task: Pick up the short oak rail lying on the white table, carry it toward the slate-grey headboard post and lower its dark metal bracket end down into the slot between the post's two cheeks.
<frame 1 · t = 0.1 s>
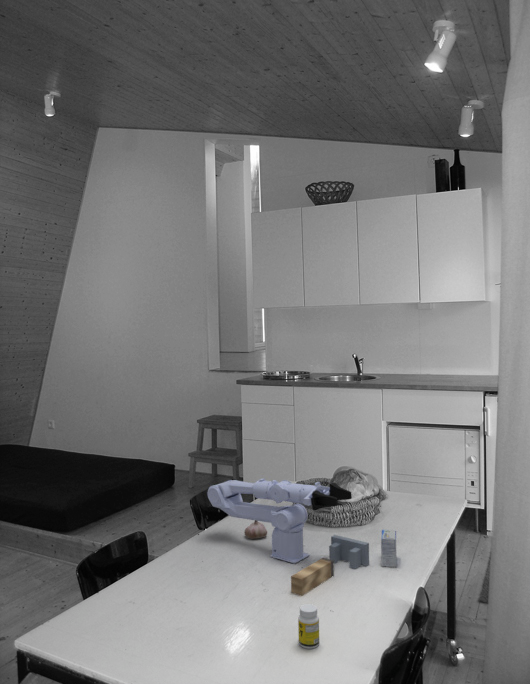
hand: (344, 498, 181), 22 cm above the table, tool horizontal, fingers open, 7 cm apart
supplement bottle: (309, 644, 143), on the table
medicine box: (388, 562, 189), on the table
rail: (313, 583, 174), on the table
headboard: (348, 561, 189), on the table
garlic bulb: (255, 538, 212), on the table
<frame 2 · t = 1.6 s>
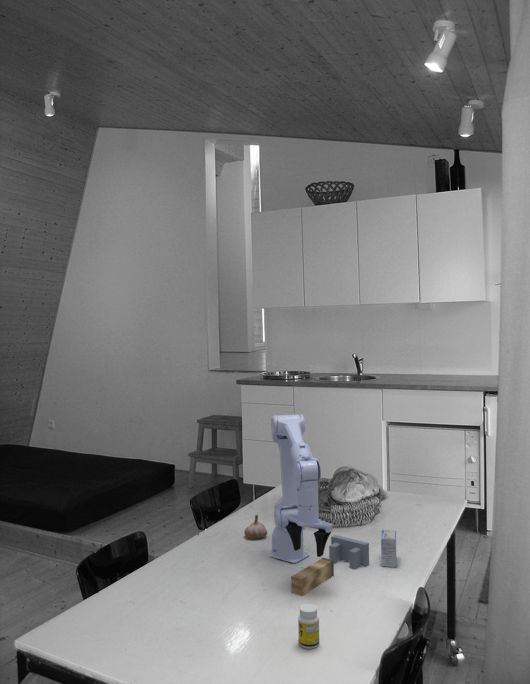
hand: (308, 552, 172), 9 cm above the table, tool pointing down, fingers open, 7 cm apart
nothing on the table moved.
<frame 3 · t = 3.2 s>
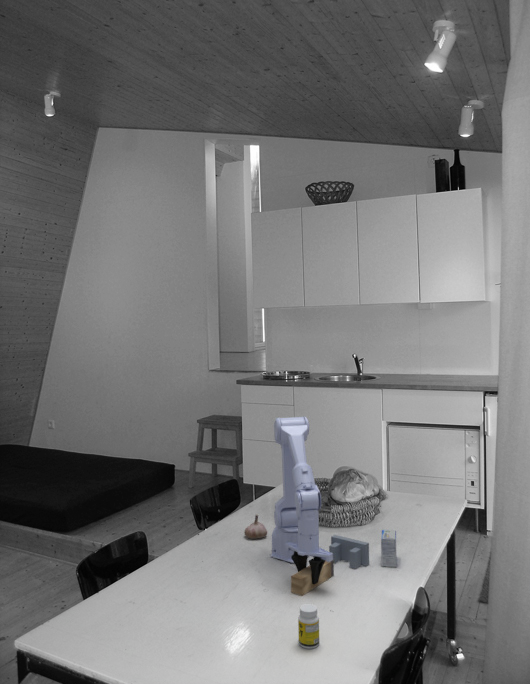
hand: (309, 581, 173), 1 cm above the table, tool pointing down, fingers closed on rail, 3 cm apart
rail: (313, 583, 174), on the table, touching gripper
everything else where it was.
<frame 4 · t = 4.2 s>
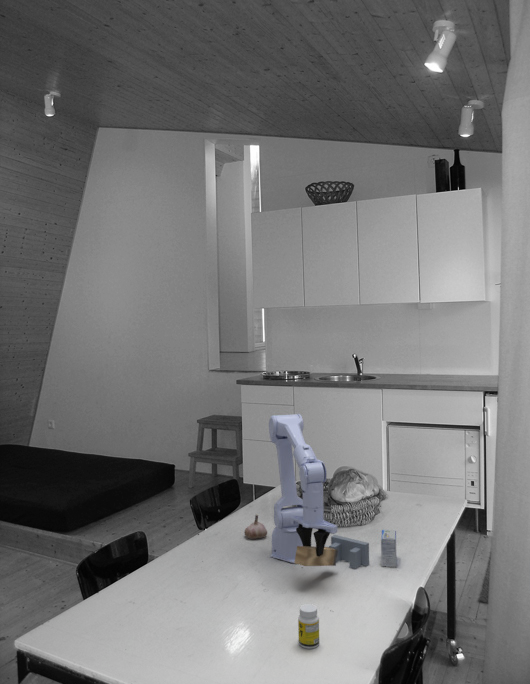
hand: (313, 553, 175), 8 cm above the table, tool pointing down, fingers closed on rail, 3 cm apart
rail: (315, 564, 175), point 5 cm above the table, tilted 18°, touching gripper
everything else where it was.
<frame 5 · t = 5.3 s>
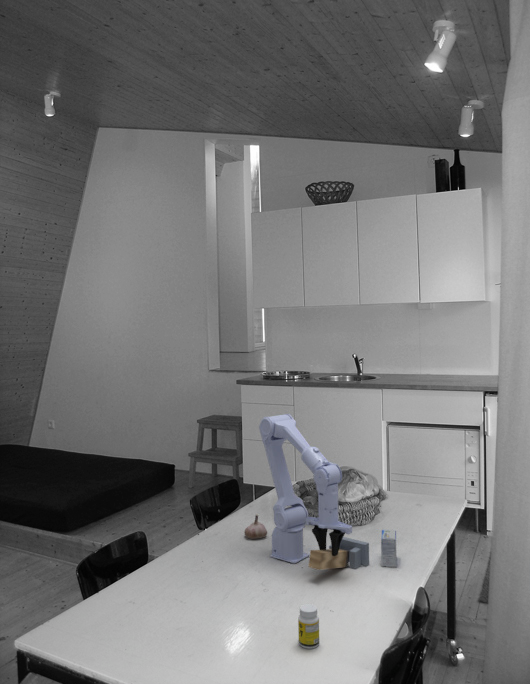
hand: (329, 553, 181), 6 cm above the table, tool pointing down, fingers closed on rail, 3 cm apart
rail: (328, 566, 181), point 2 cm above the table, tilted 15°, touching gripper
everything else where it was.
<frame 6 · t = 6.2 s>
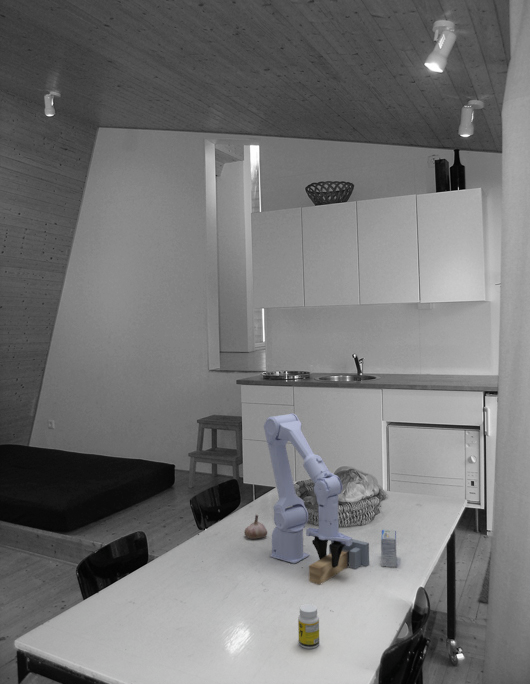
hand: (329, 564, 181), 3 cm above the table, tool pointing down, fingers closed on rail, 3 cm apart
rail: (329, 573, 181), on the table, touching gripper
everything else where it was.
when the fingers open (3 cm above the table, at t = 6.4 s): rail stays where it is, on the table.
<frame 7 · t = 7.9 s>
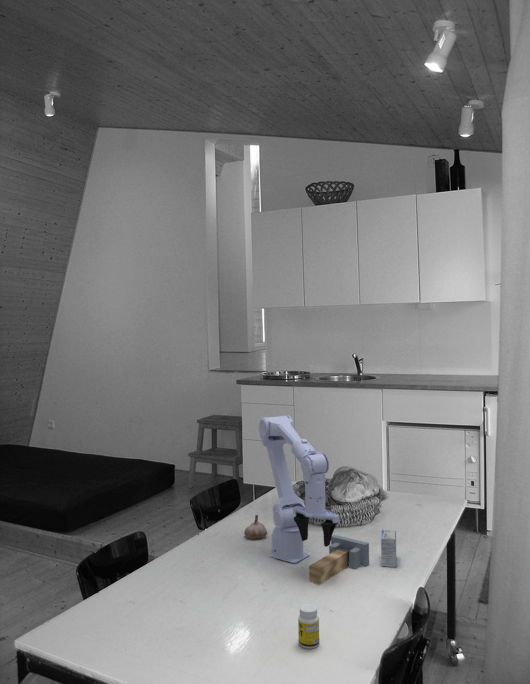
hand: (315, 542, 180), 9 cm above the table, tool pointing down, fingers open, 7 cm apart
rail: (329, 573, 181), on the table
everything else where it was.
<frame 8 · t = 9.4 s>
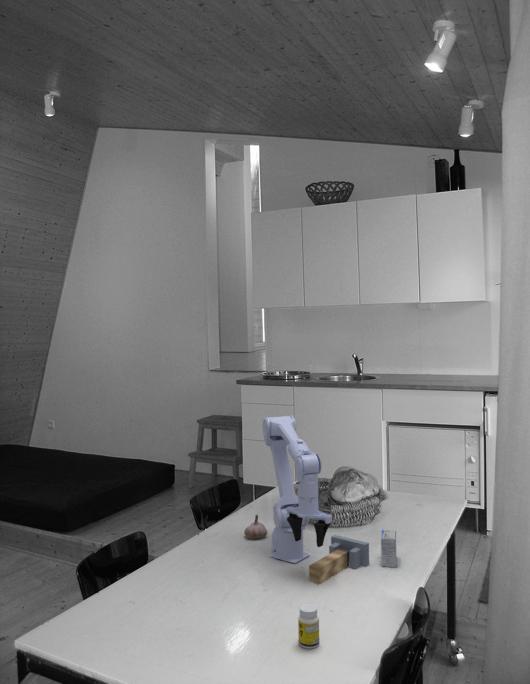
hand: (308, 543, 180), 9 cm above the table, tool pointing down, fingers open, 7 cm apart
nothing on the table moved.
at the end: rail 1.7 cm from the target spot on the table beside the headboard, on the table; rail tilted 0°; the gripper is holding nothing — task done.
